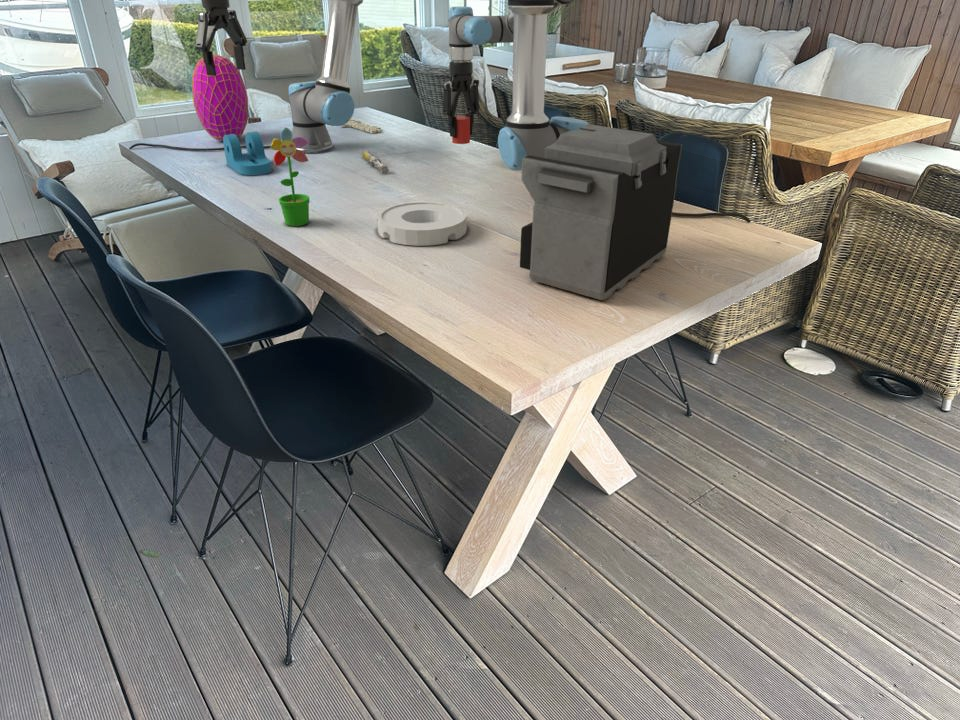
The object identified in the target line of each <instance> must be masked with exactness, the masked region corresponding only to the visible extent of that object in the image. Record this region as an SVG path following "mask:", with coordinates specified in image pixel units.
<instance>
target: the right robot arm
mask: <svg viewBox="0 0 960 720" xmlns="http://www.w3.org/2000/svg"><path fill="white" fill-rule="evenodd" d="M573 1H574V0H507V8H508V9H509V10H510V11H511V12H509V13H508V14H505V15H474V9H473V8H472V7H471V6H463V5H462V6H461V5H460V6H459V5H458V6H451V7H450V8H449V9H448V19H447V22H448V44H449V45H448V58H449V60H450V61H449V62H448V64H449V65H448V68H449V69H448V71H449V75H450V77H449V80H448V81H447V82H442V85H441V86H442V88H443V89H442V90H443V97H442V98H443V99H442V114H443V116H447V123H448V125H447V126H448V127H449V137H451V138H452V137H455V138H456V137H457V117H455V116H456V112H457V106H458V102H459V98H460V96H461V94H463V98H464V102H465V107H466V111H467V112H466V113H465V116H467V117H470V136H471V135H473V124H474V123H475V115H476V114H477V112H479V110H480V106H479V105H480V101H479V99H480V97H479V85H480V80H479V79H476V78H473V76H472V75H473V73H474V71H473V69H474V63H473V62H472V61H473V60H474V46H483V45H486V44H507V43H508V44H511V43H512V44H513V45H512V97H511V98H512V101H511V102H512V106H511V114H510V115H508V117H507V118H506V126H503V128H500V130H499V134H498V136H497V147H498V151H499V156H500V159H501V160H502V162H503V164H504V165H505V167H507V169H508V170H510V171H515V172H516V171H522V159H523V157H526V156H529V155H530V156H536V157H541V158H545V147H548V146H550V145H552V144H554V143H556V141H557V140H558V138H559V137H560V135H561V134H563V133H566V132H569V131H577V130H579V128H580V127H583V126H586V125H589V124H590V123H589V122H588V121H586V120H583V119H579V118H575V117H569V116H559V115H558V116H551V118H549V117H548V116H547V115H546V113H545V95H546V93H545V92H546V91H545V90H546V67H547V66H546V63H547V62H546V61H547V41H548V40H547V39H548V38H547V36H548V16H550V15H551V14H552V13H553V12H555V11H556V10H557V9H558V8H560V6H562V5H568V4H570V3H572V2H573ZM672 216H674V217H683V218H684V217H687V218H701V217H702V218H704V217H737V218H741V219H743V220H744V221H745V222H746V223H748V224H749V223H750V224H751V223H752V221H751V219H750V218H749V217H748V216H746V215H745V214H742V213H740V212H703V213H701V212H700V213H689V212H688V213H687V212H676V211H675V212H673V211H672Z"/></svg>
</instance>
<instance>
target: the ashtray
mask: <svg viewBox="0 0 960 720" xmlns="http://www.w3.org/2000/svg"><path fill="white" fill-rule="evenodd" d="M467 217H468V216H467V211H465V210H464V209H463V208H462V207H460V206H457V205H455V204H451V203H448V202H442V201H432V200H431V201H430V200H414V201H407V202H400V203H395V204H392V205H388V206H386V207H383V208H382V209H381V210H379V212H378V213H377V217H376V219H377V233H378V235H379V236H380V238H382V239H389V242H391V243H394V244H399V245H403V246H415V247H420V246H421V247H422V246H423V247H425V246H438V245H444V244H447V243H448V242H449V241H451V240H452V241H457V240H459V239H461V238H462V237H464V236H465V235H466V233H467V231H468V228H467V227H468V226H467V225H468V224H467V223H468V218H467Z"/></svg>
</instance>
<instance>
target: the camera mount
mask: <svg viewBox="0 0 960 720" xmlns="http://www.w3.org/2000/svg"><path fill="white" fill-rule="evenodd" d="M222 143H223V148H224V150H223V151H224V156H225V161H226V165H227V166H228V167H230V168H231V169H232V170H234V171H236V172H237V173H238V174H239V175H244V176H260V175H265V174H268V173H271V172H272V164H271V159H270V158H268V157H267V156H266V153H265V148H264V146H265V145H264V141H263V139H262V136H261V134H260V132H258V131H247V132H246V133H245V146H246V147H247V148H246V152H243V151H242V150H243V149H242V148H241V146H242V145H241V142H240V140H239V138H237V136H236V135H235V134H230V135H224V137H223V141H222Z"/></svg>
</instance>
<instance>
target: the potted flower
mask: <svg viewBox="0 0 960 720" xmlns="http://www.w3.org/2000/svg"><path fill="white" fill-rule="evenodd" d="M307 143H309V141H308V140H307V139H305V138H304V137H300V136H299V137H295V138H293V139H292V131H291V130H290V128H288V127H284V128H283V129H282V130H281V131H280V139H279V138H273V139H272V141H271V145H270V146H271V148H270V149H272V150H274V151H275V153H274V155H273V163H274V165H275V167H277V166H282V164H283V163H285V161H286V158H287V164H288V165H287V166H288V171H289V178H284V179H282V180H281V181H280V184H281V185H282V186H285V187H291V193H290V194H286V195H282V196H280V197H279V198H278V202H279V205H280V207H281V210H282V215H283V219H284V223H285V225H287V226H290V227H291V226H292V227H301V226H304V225H306V224H309V222H310V206H309V205H310V196H309V195H307V194H303V193H296V192H295V191H296V190H295V184H294V178H296V177H297V176H299V174H300V173H299V171H297V170H295V171H293V168H292V162H291V161H292V160H291V159H293V160H294V161H296V162H297V163H307V162H309V158H308V156H307V155H306V153H304V152H302V151H301V150H299V149H297V148H301V147H303V146H305V145H306V144H307Z"/></svg>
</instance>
